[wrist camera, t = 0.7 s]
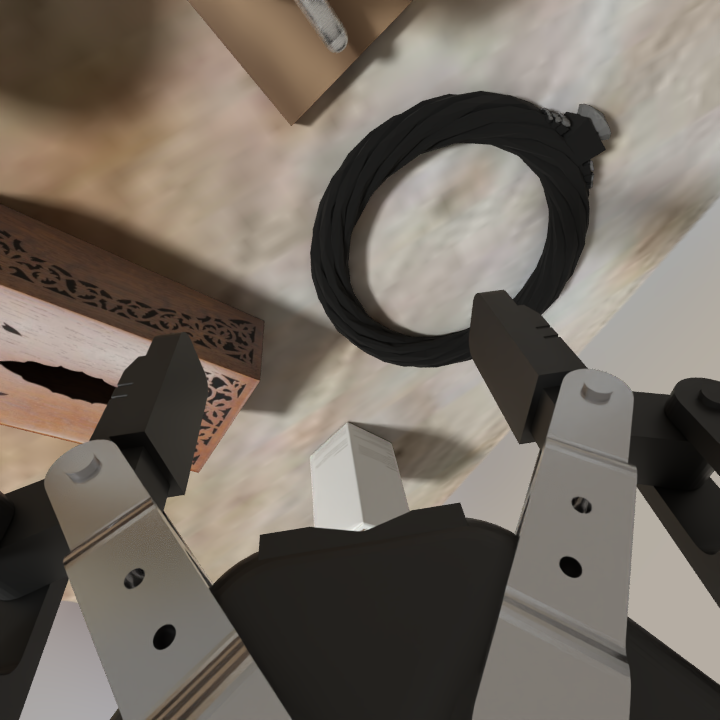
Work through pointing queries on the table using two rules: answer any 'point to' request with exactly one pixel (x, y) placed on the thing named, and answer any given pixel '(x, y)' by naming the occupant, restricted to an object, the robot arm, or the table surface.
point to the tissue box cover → (104, 334)
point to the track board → (294, 44)
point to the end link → (325, 23)
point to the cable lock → (433, 131)
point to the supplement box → (356, 481)
